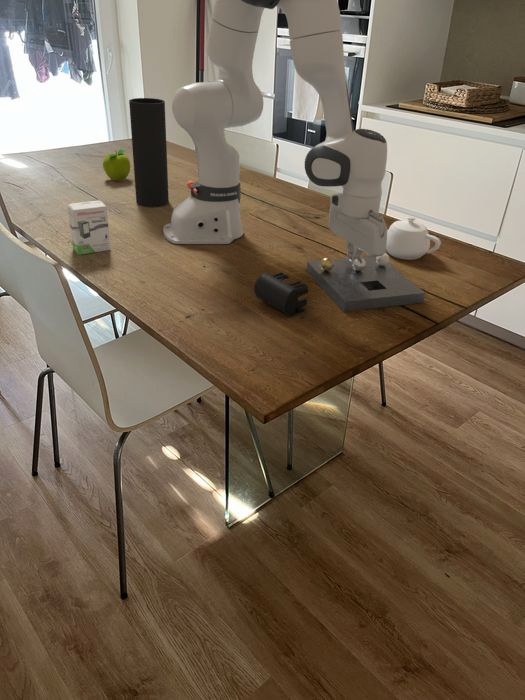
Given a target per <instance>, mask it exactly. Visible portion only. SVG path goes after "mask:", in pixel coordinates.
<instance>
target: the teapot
mask: <svg viewBox="0 0 525 700" xmlns="http://www.w3.org/2000/svg"><path fill="white" fill-rule="evenodd" d="M415 220H416V217H415V216H412V215H410V216H407V218H406V219H402V220H395V221H394V222H392V223H391V225H390V226H389V228H387V246H386V252H387V253H388V255H390V256H392V257H394V258H395V259H401V260H409V261H411V260H417V259H420V258H421V257H422V256H424V255H426V254H431V253H433V252H435V251H437V250H438V249H440V247H441V244H442V242H441V239H440V238H439V237H436V236H435V235H432V234H429V229H428V227H427V225H425V224H424V223H421V222H419V221H415ZM382 222H383V221H382ZM431 241H433V242H434V243H435V244H434V246H433V247H431ZM430 247H431V248H430Z"/></svg>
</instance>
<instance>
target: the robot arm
mask: <svg viewBox="0 0 525 700" xmlns="http://www.w3.org/2000/svg"><path fill="white" fill-rule="evenodd" d="M276 7H277V8H279V9H281V11H282V12H283V13H284V15H285V17H286V21H287V27H288V37H289V45H290V47H289V48H290V54H291V58H292V62H293V66H294V69H295V72H296V73H297V74H298V75H297V76H299V77H300V78H301V80H303V81H304V82H306V83H308V84H309V85H310V86H311V87H312V88H314V90H315V91H316V92H317V94H318V95H319V97H320V101H321V106H322V111H323V112H322V114H323V119H324V124H325V131H326V136H325V140H324V141H322V142H320V143H318V144H317V145H315V146H313V147H312V148H310V150H309V151H308V152H307V154H306V156H305V159H304V171H305V174H306V177H307V178H308V179H309V180H310V182H312V183H313V184H314V185H316V186H319V187H328V188H330V187H332V188H333V187H342V192H338V193H332V194H331V195H330V198H329V201H330V208H329V213H328V214H329V215H328V227H329V231H331V232H332V233H334V234H336V235H337V236H339V237H340V238H341V239H343V240H345V248H346V258H348V259H349V260H351V261H352V262H353V261H354V260H355V259H356V258H360V257H361V255H362V254H363V252H364V253H365V254H366V256H367V255H368V256H371V257H378V256H382V255H384V253H386V252H387V250H386V246H387V230H388V227H387V223H386V221H385V219H384V216H383V215H380V214H379V213H380V207H381V201H382V194H383V190H382V183H383V180H384V177H385V175H386V169H387V162H388V161H387V160H388V142H387V139H386V138H385V137H384V136H383V135H382V134H381V133H380V132H377V131H374V130H372V129H366V128H358V129H354V124H353V118H352V111H351V109H352V108H351V103H350V96H349V95H350V94H349V90H348V88H349V86H348V83H347V78H346V77H347V76H346V69H345V68H346V67H345V65H346V64H345V55H344V54H345V53H344V39H343V38H344V37H343V28H342V20H341V19H342V17H341V11H340V7H339V1H338V0H214V5H213V8H212V14H211V19H210V26H209V30H208V38H207V44H206V54H207V55H208V58H209V59H210V61H211V62H212V63H213V65H215V66H216V67H217V68H218V77H217V80H216V81H205V82H204V81H203V82H202V81H201V82H194V83H190V84H187V85H184V86H182V87H179V88H178V89H177V90H176V91H175V93H174V94H173V98H172V105H171V109H172V114H173V117H174V119H175V121H176V122H177V124H178V125H179V126H180V127H181V128H182V129H183V130H184V131H185V132H186V133H187V134H188V135H189V136H190V138H191V140H192V143H193V145H194V148H195V152H196V159H197V181H196V182H194V181H193V180H187V182H186V187H187V188H188V189H189V190H190V196H188V197H187V198H186V199H185V200H184V201H182V202H181V203H180V204H178V205H177V206H176V207H174V208H173V210H172V213H171V219H170V223H166V224H164V226H163V228H162V233H163V236H164V238H165V239H166V240H167V241H169V243H172V244H175V245H229V244H230V243H232V242H233V241H234V240H236V239H238V238H240V237H243V234H244V228H243V225H242V219H241V212H240V210H241V209H240V203H241V198H242V197H241V194H242V192H241V191H242V187H241V182H240V154H239V152H238V150H237V149H236V148H235V147H234V146H233V145H232V144H230V143H228V142H227V140H226V136H225V129H229V128H237V127H239V128H240V127H243V126H247V125H249V124H252V123H253V122H256V121H257V120H259V119H260V117H261V115H262V114H263V110H264V103H265V102H264V97H263V94H262V91H261V88H260V87H259V86H258V85H257V84H256V82H255V79H254V74H253V61H254V54H255V49H256V44H257V41H258V36H259V35H258V34H259V31H260V25H261V21H262V17H263V13H264V10H265V9H268V10H273V9H275V8H276ZM382 221H383V222H382Z"/></svg>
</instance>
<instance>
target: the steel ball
mask: <svg viewBox="0 0 525 700" xmlns="http://www.w3.org/2000/svg"><path fill="white" fill-rule="evenodd" d="M365 267H366V262H365V260H364V259H362V258H356V259H355V260H354V261H353V268H354V269H355V270H356V271H362V270H364V269H365Z"/></svg>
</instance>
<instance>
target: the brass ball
mask: <svg viewBox="0 0 525 700" xmlns="http://www.w3.org/2000/svg"><path fill="white" fill-rule="evenodd" d="M332 259H333V258H331V257H324V258H322V259H321V262H320V267H321V269H322V270H324V271H330V270H331V269H332V268H333V266H334V263H333V260H332Z"/></svg>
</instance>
